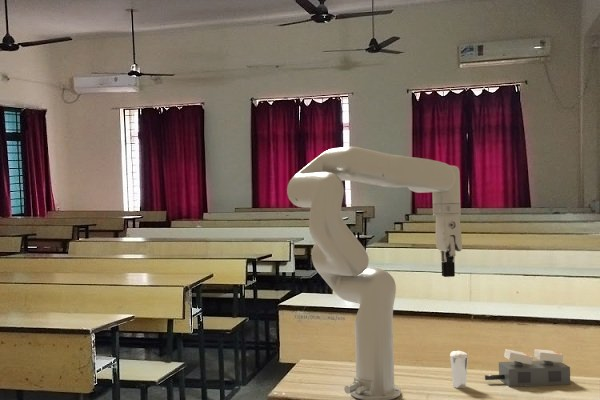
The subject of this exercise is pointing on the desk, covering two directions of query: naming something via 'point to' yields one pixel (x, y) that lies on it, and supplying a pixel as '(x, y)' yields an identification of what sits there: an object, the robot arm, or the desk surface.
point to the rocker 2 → (548, 355)
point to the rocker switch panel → (532, 373)
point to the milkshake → (459, 368)
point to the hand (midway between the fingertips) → (448, 276)
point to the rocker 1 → (518, 356)
